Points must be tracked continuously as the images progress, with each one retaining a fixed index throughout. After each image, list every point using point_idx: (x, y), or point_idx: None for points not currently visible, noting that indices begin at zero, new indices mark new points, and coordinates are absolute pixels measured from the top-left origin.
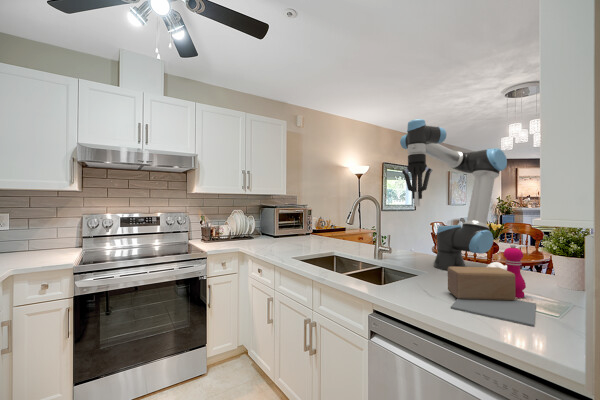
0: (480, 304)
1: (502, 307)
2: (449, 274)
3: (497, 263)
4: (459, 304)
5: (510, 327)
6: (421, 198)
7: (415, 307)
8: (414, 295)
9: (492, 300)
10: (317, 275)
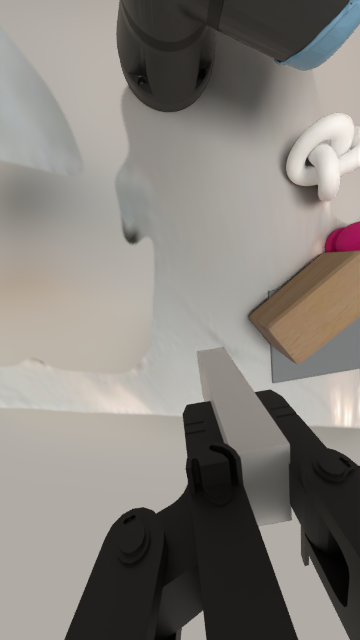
0: None
1: None
2: (269, 336)
3: (343, 130)
4: (280, 366)
5: (339, 387)
6: (273, 400)
7: None
8: None
9: None
10: (5, 406)
